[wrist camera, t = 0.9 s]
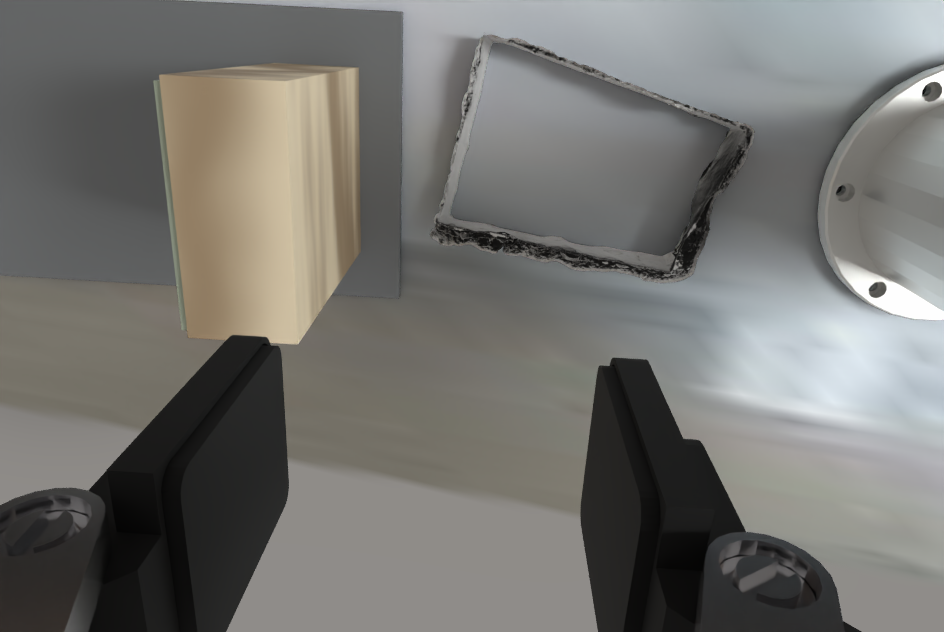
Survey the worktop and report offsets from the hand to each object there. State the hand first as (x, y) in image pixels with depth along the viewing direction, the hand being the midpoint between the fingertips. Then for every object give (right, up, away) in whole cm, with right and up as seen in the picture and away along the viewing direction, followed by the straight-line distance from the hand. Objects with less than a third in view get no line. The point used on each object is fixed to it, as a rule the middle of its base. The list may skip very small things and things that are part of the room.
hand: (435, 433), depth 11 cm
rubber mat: (-14, +10, +24) cm, 30 cm away
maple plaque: (-7, +10, +23) cm, 26 cm away
